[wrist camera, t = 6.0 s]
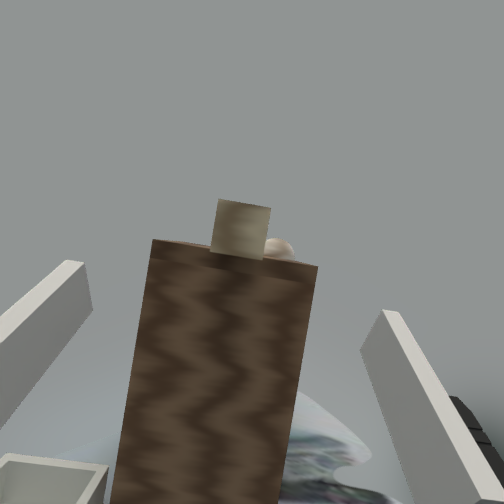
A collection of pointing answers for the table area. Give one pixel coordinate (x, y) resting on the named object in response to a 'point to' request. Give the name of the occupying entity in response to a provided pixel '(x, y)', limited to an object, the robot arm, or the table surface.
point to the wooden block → (213, 376)
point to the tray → (50, 481)
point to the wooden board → (240, 229)
